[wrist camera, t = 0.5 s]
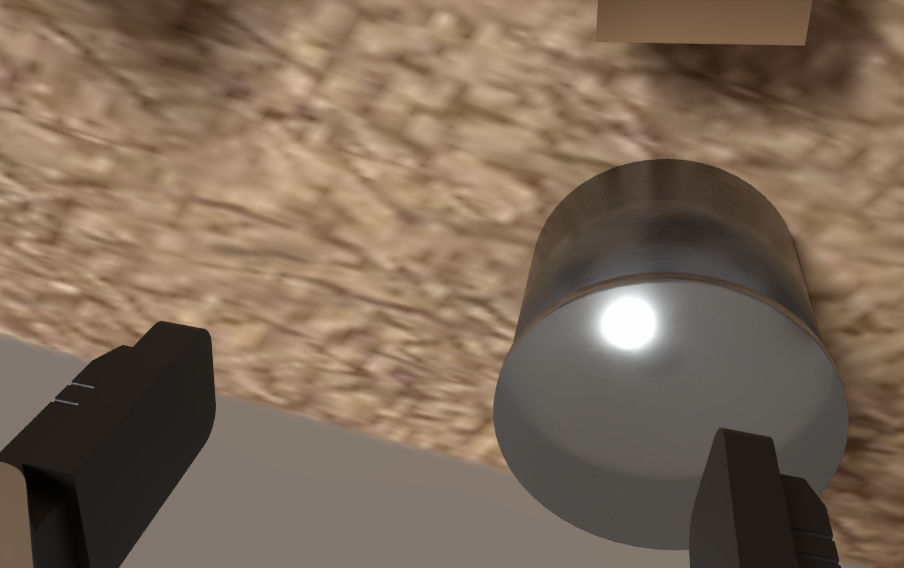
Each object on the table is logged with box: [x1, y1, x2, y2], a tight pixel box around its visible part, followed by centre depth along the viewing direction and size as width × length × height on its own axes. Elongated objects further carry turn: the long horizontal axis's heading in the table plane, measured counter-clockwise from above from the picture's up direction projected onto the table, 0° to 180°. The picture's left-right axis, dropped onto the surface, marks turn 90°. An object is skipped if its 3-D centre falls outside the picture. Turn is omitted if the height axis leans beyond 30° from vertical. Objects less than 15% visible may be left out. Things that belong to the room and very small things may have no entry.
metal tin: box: [493, 159, 849, 550], centre depth 30 cm, size 10×10×9 cm
